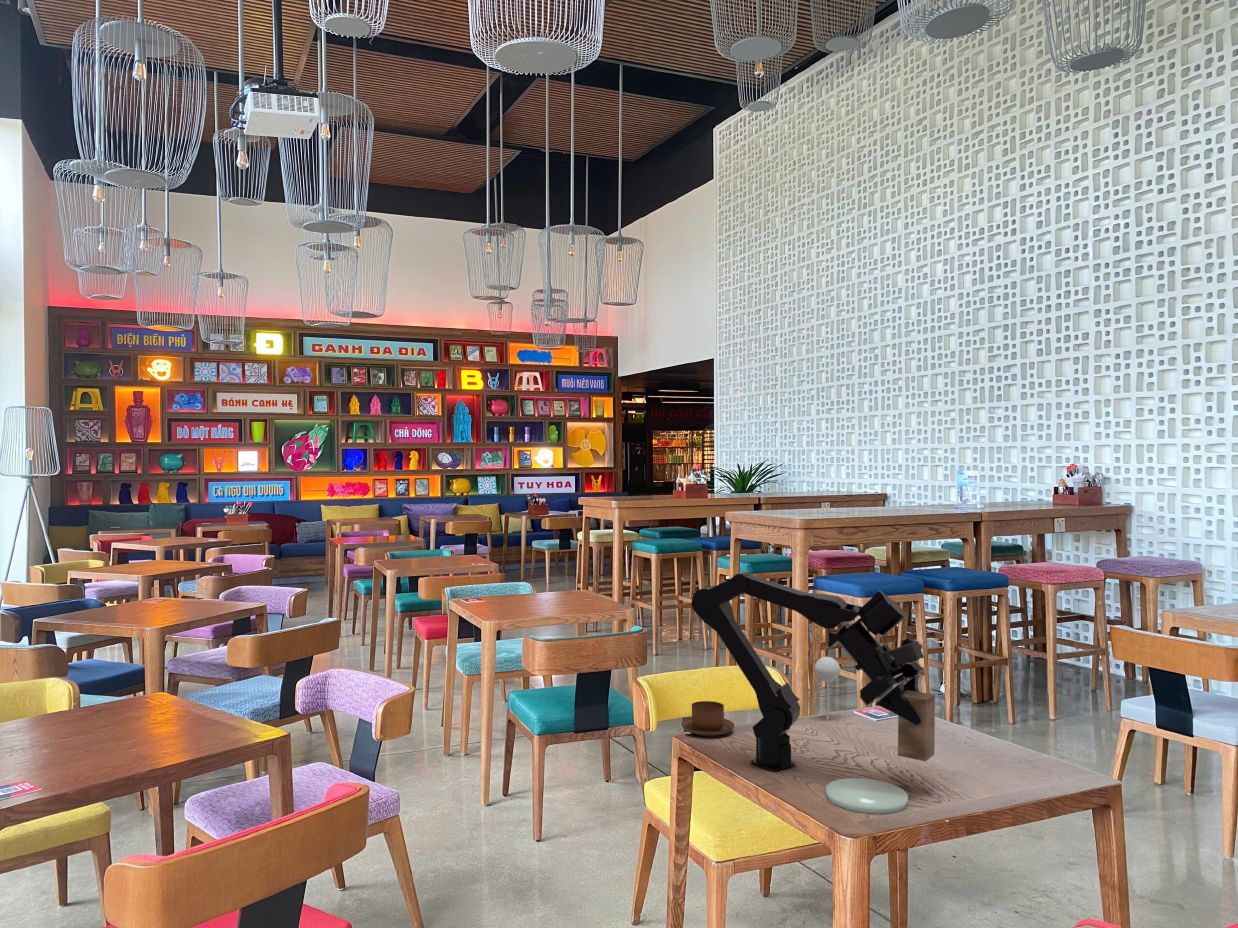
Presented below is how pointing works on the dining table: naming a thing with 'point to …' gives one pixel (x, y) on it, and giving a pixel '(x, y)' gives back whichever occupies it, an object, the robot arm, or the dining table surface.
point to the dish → (867, 795)
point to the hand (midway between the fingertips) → (924, 720)
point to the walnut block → (918, 728)
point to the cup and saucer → (707, 719)
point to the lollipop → (827, 673)
